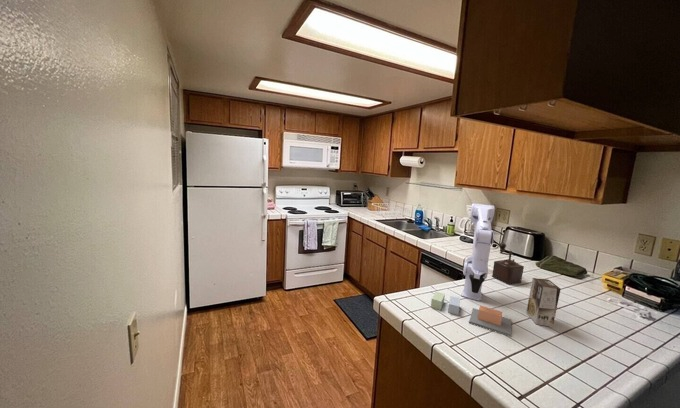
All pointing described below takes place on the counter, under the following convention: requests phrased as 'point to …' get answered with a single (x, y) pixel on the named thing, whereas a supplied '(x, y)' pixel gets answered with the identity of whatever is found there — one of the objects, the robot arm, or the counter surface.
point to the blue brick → (454, 305)
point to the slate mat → (502, 329)
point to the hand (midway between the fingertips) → (475, 289)
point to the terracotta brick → (490, 315)
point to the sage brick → (437, 300)
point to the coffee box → (543, 301)
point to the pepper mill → (507, 269)
